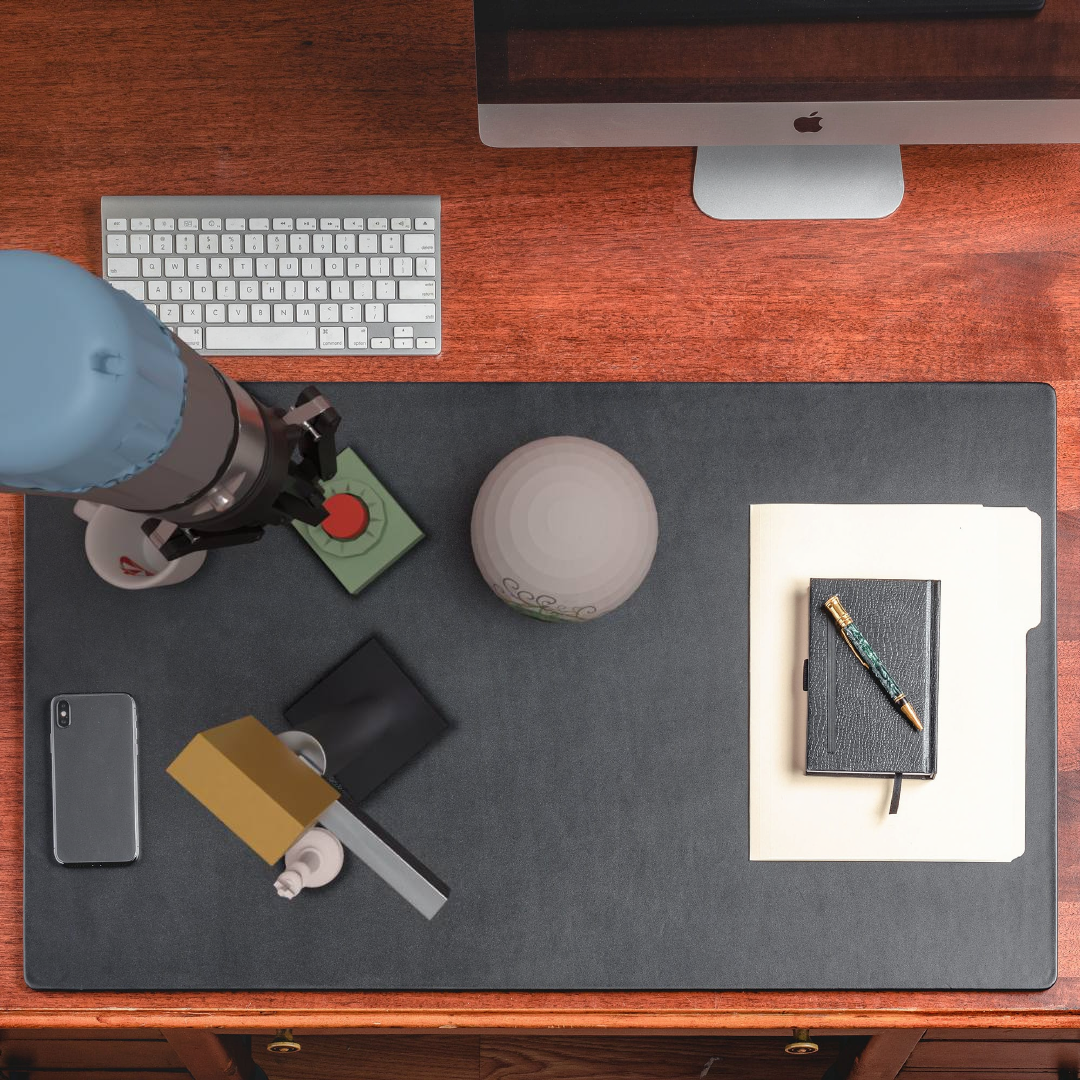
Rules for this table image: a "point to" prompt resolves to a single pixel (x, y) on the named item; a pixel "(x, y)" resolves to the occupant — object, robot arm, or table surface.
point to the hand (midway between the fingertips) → (311, 507)
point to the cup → (129, 549)
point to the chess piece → (310, 862)
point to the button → (344, 516)
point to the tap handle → (292, 806)
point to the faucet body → (363, 721)
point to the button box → (381, 536)
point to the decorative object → (564, 529)
